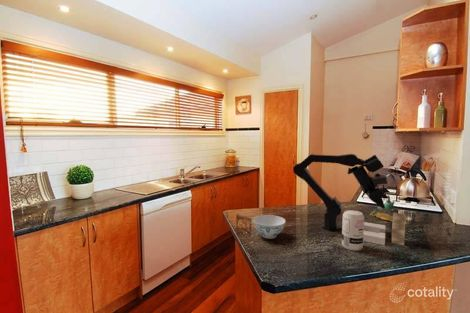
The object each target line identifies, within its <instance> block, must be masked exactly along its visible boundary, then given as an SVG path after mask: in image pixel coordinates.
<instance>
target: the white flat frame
mask: <svg viewBox="0 0 470 313" xmlns="http://www.w3.org/2000/svg"><path fill="white" fill-rule="evenodd" d="M363 242H367V243H373V244H377V245H383V246H385V244H386V225H385V224H378V223H374V222H373V223H372V222H366V221H364V234H363Z"/></svg>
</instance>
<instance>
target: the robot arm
mask: <svg viewBox="0 0 470 313" xmlns="http://www.w3.org/2000/svg"><path fill="white" fill-rule="evenodd" d="M313 163H326V164H330V163H331V164H338V165H342V166H346V167H348V168H347V169H348V170H347V175H350V174H352V175H353V176H354V178H355V179H356V181H357V183H358V185H359V188H360V190H361V191H362V192H363V193H364V194H365V195H366V196H367V197H368V199H369V200H370V201H371V202H373V203H374V204H376V205H377V206H378V207H379V208H380V207H381V208H383V209H385V206H384V203H385V202H384V200H383V196H384V195H385V193H384V191H383V189H381V188H380V187H378V185H386V184H387V185H388V179H387V178H388V177H387V176H386V175H382V174H380V173H379V172H377V171H380V170H381V169H383V168H385V166H384V164H383V163H382V162H381V160H380V159H379V158H378V157H377V155H376V154H374V155H371V157H368V158H367V159H362V158H359V157H358V156H357V155H356V154H354V153H346V154H340V155H338V154H336V155H333V154H331V155H330V154H314V153H311V154H309V155H308V156H307V157H306V158H305V159H304V160H302V161H301V162H298V163H297V164H295V165H294V166H293V167H292V171H293V173H294V174H295V175H296V176H297V177H298V178H300V179H302V180H303V181H304V182H305V183H306V184H307V185H308V187H310V188H311V190H312V191H313V192H314V193H315V194H316V195H317V196H318V197H319V198H320V199H321V201H322V202H323V204H324V205H325V208H326V209H325V212H324V214H323V215H324V217H323V218H324V219H323V221H324V222H323V225H322V226H321V228H322V229H325V230H327V231H330V232H335V231H338V230H340V227H339V226H338V216H340V215H341V213H342V208H343V206H342V203H341V201H340V200H338V199H337V197H336V196H334V197H332V196H330V195H329V194H328V192H327V191H326V190H325V189H324V188H323V187H322V186H321V185H320V184H319V183H318V182H317V180H316V179H315V178H314V177H313V176H312V175H311V173H310V171H309V169H308V167H309V166H310V165H311V164H313ZM370 172H371V173H372V174H373V173H375V172H376V173H375V174H374V175H373V176H371V175H370V174H369V173H370ZM381 208H380V209H381Z"/></svg>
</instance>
